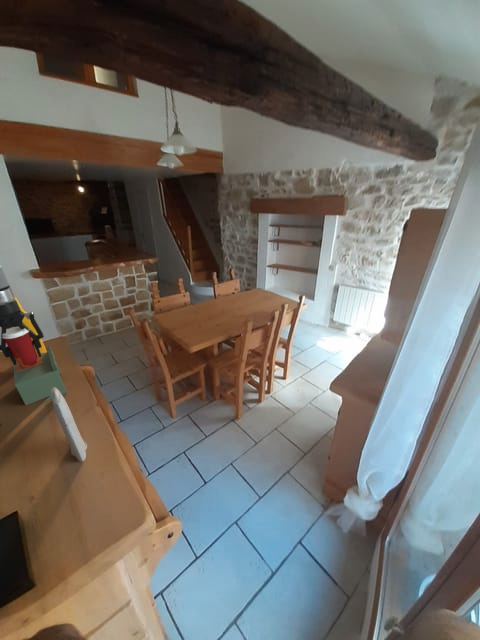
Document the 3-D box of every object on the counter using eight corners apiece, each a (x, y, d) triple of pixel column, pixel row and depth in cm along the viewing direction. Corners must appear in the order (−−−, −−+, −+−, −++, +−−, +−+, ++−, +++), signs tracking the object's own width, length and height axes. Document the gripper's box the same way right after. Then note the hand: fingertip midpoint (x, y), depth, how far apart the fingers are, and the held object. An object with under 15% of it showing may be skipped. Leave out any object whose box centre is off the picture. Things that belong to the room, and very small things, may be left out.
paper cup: (45, 355, 97) (32, 323, 91) (35, 367, 91) (19, 334, 84) (23, 357, 96) (8, 325, 90) (10, 370, 89) (-7, 336, 83)
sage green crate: (27, 408, 88) (12, 379, 82) (24, 384, 99) (11, 357, 93) (67, 393, 95) (55, 365, 89) (60, 372, 106) (50, 346, 100)
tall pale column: (91, 458, 72) (67, 401, 62) (75, 467, 70) (47, 409, 60) (83, 433, 79) (61, 379, 69) (68, 441, 77) (42, 385, 67)
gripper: (-43, 314, 74) (-8, 375, 85) (38, 298, 85) (60, 353, 96) (-40, 306, 79) (-7, 364, 90) (36, 291, 90) (57, 345, 101)
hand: (27, 359), depth 93 cm, fingers closed on paper cup, 7 cm apart
